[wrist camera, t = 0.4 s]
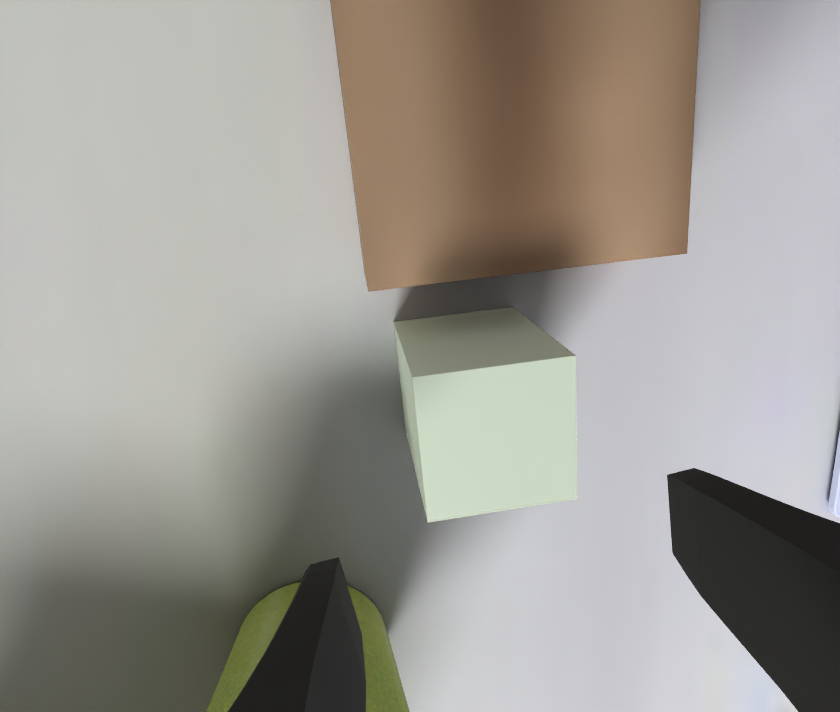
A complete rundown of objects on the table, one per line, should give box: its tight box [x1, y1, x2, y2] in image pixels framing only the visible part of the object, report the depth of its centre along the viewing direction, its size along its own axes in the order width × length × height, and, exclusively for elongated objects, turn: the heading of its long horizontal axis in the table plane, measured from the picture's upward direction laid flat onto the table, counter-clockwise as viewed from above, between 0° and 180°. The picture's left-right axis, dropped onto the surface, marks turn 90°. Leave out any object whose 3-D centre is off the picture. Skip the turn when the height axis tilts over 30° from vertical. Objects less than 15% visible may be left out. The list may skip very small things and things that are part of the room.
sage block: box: [393, 307, 577, 523], centre depth 18 cm, size 4×4×6 cm
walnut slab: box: [330, 0, 701, 291], centre depth 17 cm, size 10×10×3 cm
